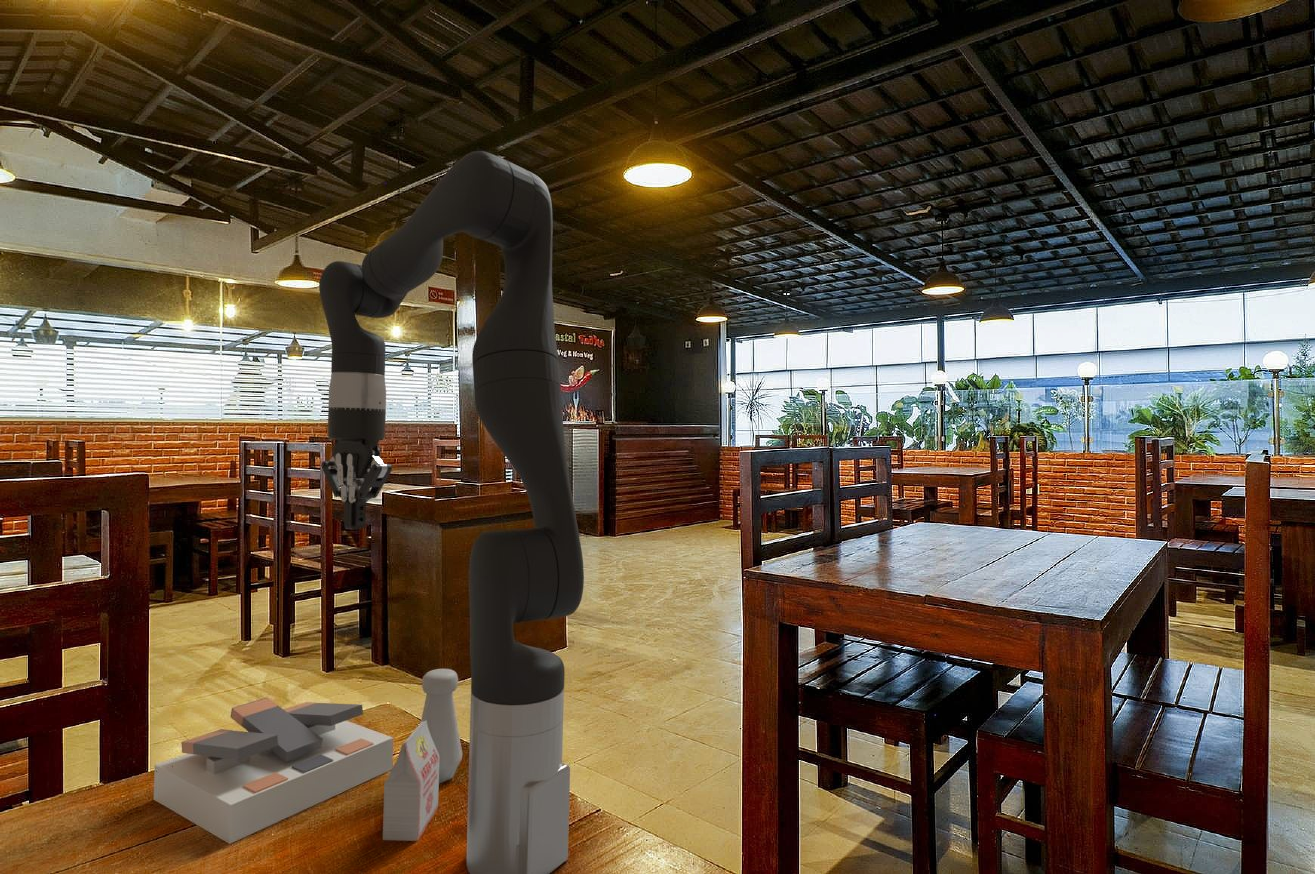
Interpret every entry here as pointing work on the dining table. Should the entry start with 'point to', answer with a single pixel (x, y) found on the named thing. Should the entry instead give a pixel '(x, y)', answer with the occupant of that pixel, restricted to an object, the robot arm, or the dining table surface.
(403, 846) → the dining table surface
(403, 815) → the white gabled box
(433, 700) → the salt shaker
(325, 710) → the switch
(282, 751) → the switch
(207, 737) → the switch
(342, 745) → the switch box
